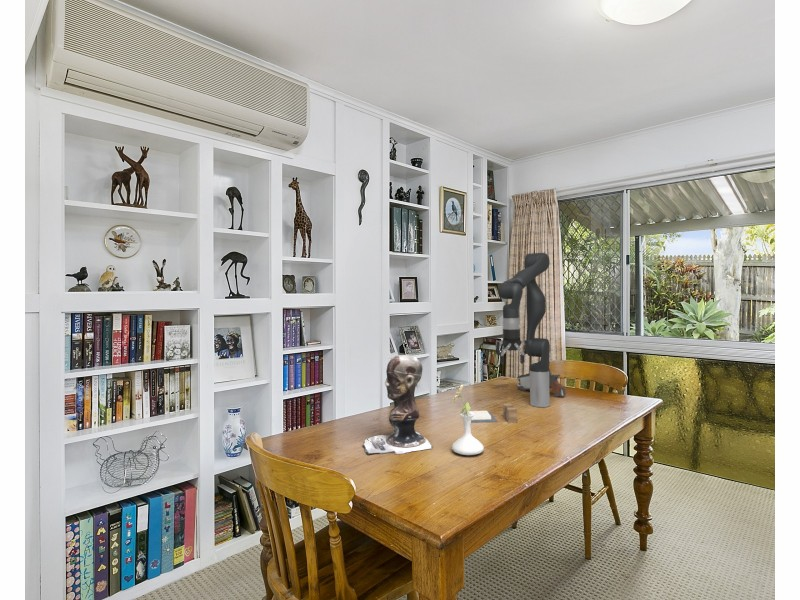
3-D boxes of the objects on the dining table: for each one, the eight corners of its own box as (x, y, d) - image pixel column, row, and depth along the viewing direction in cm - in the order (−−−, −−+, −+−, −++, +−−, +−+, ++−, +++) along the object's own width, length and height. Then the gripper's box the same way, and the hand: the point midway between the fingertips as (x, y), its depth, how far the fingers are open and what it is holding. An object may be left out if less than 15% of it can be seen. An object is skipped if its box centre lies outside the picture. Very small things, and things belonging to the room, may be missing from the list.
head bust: (354, 438, 176) (361, 350, 176) (413, 436, 185) (420, 351, 185) (370, 458, 156) (378, 358, 156) (435, 455, 165) (443, 360, 165)
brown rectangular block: (503, 416, 204) (502, 403, 204) (510, 416, 204) (510, 403, 204) (508, 423, 194) (508, 409, 194) (516, 423, 194) (516, 409, 194)
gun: (526, 400, 257) (520, 374, 260) (567, 394, 236) (560, 366, 239) (521, 401, 254) (514, 375, 257) (562, 396, 233) (554, 367, 236)
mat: (460, 413, 210) (460, 412, 210) (490, 413, 210) (490, 412, 210) (465, 422, 196) (465, 421, 196) (497, 421, 196) (497, 420, 196)
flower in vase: (462, 444, 169) (461, 378, 168) (489, 450, 161) (488, 381, 161) (443, 454, 158) (441, 384, 158) (471, 462, 151) (469, 388, 151)
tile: (467, 411, 206) (470, 416, 197) (486, 410, 206) (491, 416, 197) (467, 415, 206) (470, 420, 197) (487, 414, 206) (491, 420, 197)
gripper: (524, 326, 204) (525, 361, 205) (493, 327, 204) (494, 362, 205) (529, 328, 196) (530, 364, 197) (497, 329, 196) (498, 366, 197)
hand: (512, 363), depth 201 cm, fingers open, 8 cm apart
